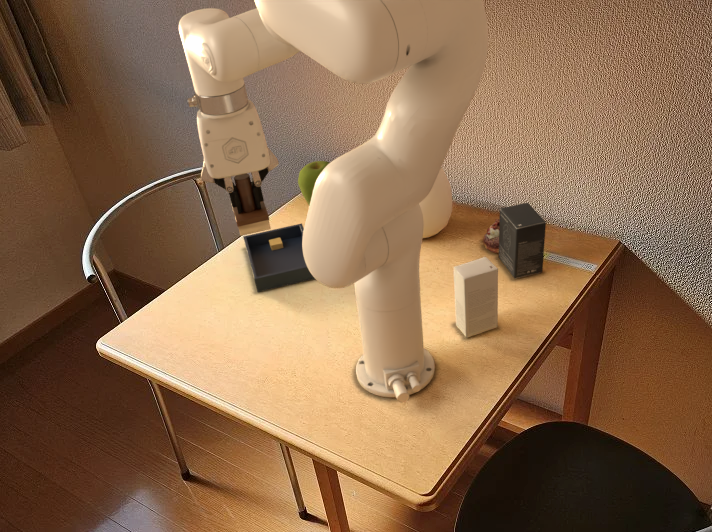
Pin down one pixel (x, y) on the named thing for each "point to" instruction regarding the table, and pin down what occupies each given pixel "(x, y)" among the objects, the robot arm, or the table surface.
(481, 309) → the cosmetic box
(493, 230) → the pastry
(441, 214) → the white vase
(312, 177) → the apple
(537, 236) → the box
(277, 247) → the tan square block
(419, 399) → the table surface
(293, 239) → the tray
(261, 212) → the peg on plate
